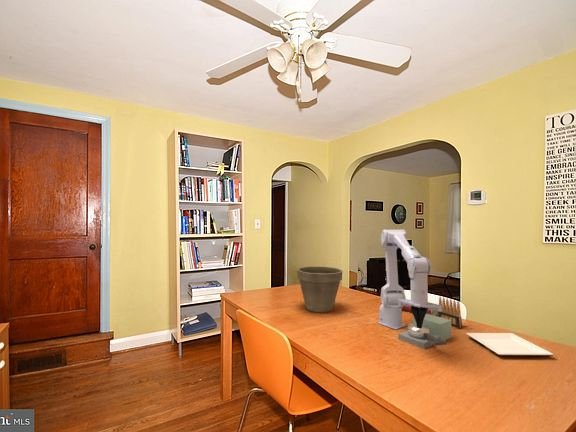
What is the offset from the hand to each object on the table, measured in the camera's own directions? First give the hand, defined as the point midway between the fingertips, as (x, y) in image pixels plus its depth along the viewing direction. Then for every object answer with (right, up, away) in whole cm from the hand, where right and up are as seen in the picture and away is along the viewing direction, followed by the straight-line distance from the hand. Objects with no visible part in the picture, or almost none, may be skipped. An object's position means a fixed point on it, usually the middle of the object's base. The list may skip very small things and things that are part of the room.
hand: (419, 327), depth 103 cm
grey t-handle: (+4, -6, +4) cm, 9 cm away
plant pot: (-31, -10, +51) cm, 61 cm away
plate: (+33, -9, +2) cm, 34 cm away
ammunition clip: (+26, -9, +25) cm, 37 cm away
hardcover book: (+20, -10, +47) cm, 52 cm away
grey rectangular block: (+7, -8, +10) cm, 15 cm away
